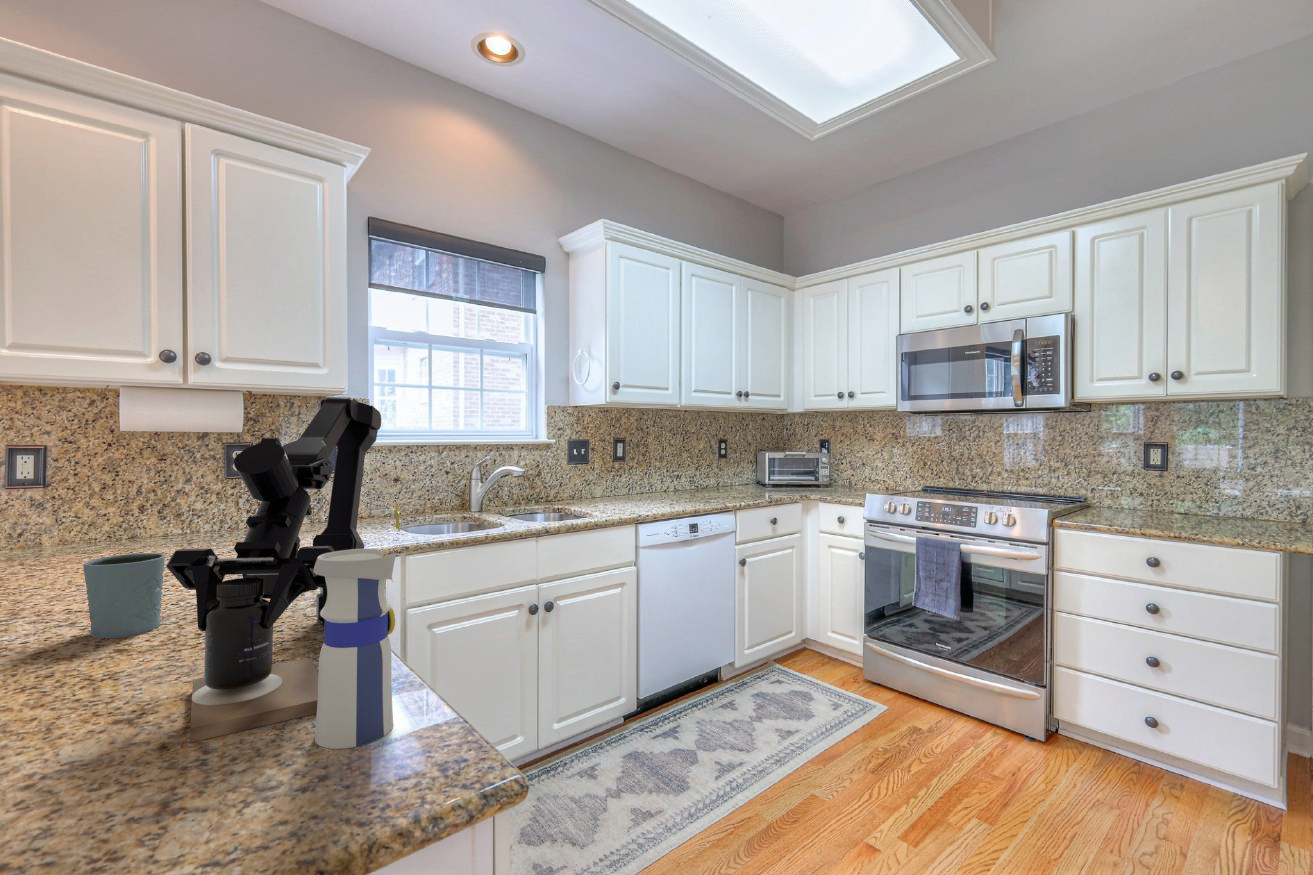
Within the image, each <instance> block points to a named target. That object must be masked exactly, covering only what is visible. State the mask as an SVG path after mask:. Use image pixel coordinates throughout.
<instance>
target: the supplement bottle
mask: <svg viewBox="0 0 1313 875" xmlns="http://www.w3.org/2000/svg"><path fill="white" fill-rule="evenodd" d="M264 594H265V590H264V579H262V578H243V577H240V578H239V577H238V578H233V579H225V580H223V581H222V582H220V583H218V584H217V594H216V600H218V604H216V605H215V606H213V607H212V608H211V609H210V610H209V611H208V612H207V614H206V620H205V631H204V666H203V668H204V670H203V671H204V672H203V674H204V676H203V678H204V682H205V685H206V686H207V687H209V688H211V689H216V690H228V689H236V688H242V687H246V686H250V685H253V684H256V683H259V682H261V681H263V680H265V679H266V678H267V677H268V676H269V675H270V674H271V671H272V665H273V651H274V650H273V648H274V646H273V642H274V640H273V638H274V624H273V625H272V626H271V627H270V628H269V629H265V627H264V626H263V623H264V618H265V613H266V610H267V607H268V604H269V601H270V600H268V599H264V598H262V596H263V595H264Z"/></svg>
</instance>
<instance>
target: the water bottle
mask: <svg viewBox="0 0 1313 875" xmlns="http://www.w3.org/2000/svg"><path fill="white" fill-rule="evenodd" d="M398 506H399V505H398V501H395V510H394V512H393V513H394V517H395V529H396V530H397V531H398V532H400V531H401V527H400V526H401V525H400V516H401V514H400V512H399V507H398ZM396 557H397V555H396V553H391V554H388V555H385V554H384V552H383V551H382V550H380V549H377V548H364V549H351V550H342V551H335V552H329V553H325V554H322V555H320V556H318V558H317V561H316V563H315V566H314V570H313V572H314V573H315V574H317V575H320V576H325V580H326V585H327V600H326V604H325V606H324V608H323V609H322V610H321V612H320V615H321V617H323V618H324V619H325V620H324V626H323V627H324V629H323V631H324V632H323V633H324V635H323V637H324V638H323V640H324V641H323V644H322V646H321V650H320V652H319V657H318V658H319V659H318V670H317V672H318V701H317V713H316V715H315V716H316V717H315V718H316V719H315V731H314V742H315V744H316V745H318V746H320V747H322V748H325V749H332V750H333V749H334V750H335V749H336V750H339V749H343V750H344V749H350V748H357V747H360V746H364V745H367V744H371V743H374V742H375V741H376V742H377V741H378V740H379V739H381V738H383V737H385V736H386V735H387V734H389V733H390V732H391V730H392V729H393V727H394V714H393V712H394V711H393V694H392V693H393V691H392V690H393V689H392V687H393V685H392V645H391V640H390V638H389V635H391V634H392V633H393V632H394V630H395V628H396V615H395V612H394V609H393V608H392V607H393V606H392V604H391V602H390V601H389V599H388V597H387V593H386V582H387V580H391V581H392V583H394V581H393V573H394V565H395V561H396Z"/></svg>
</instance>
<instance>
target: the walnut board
mask: <svg viewBox="0 0 1313 875" xmlns="http://www.w3.org/2000/svg"><path fill="white" fill-rule="evenodd" d="M191 687H192V688H191V690H192V691H191V706H190V707H191V708H190V723H189V724H190V725H189V743H190V744H191V743H195V742H200V741H205V740H208V739H213V738H216V737H220V736H225V735H229V734H234V733H237V732H238V733H239V732H242V731H248V730H251V729H255V728H259V727H263V726H269V725H272V724H277V723H280V722H285V721H289V720H293V719H298V718H301V717H306V716H310V715H314V714H317V701H318V670H317V668H316V666H315V663H314V662H313V659H312V658H311V657H307V658H304V659H303V658H302V659H297V660H292V661H287V662H280V663H274V664H272V671H271V674H270V675H269V676H268V677H267V678H266V679H265V680H263V681H261V682H259V683H256V684H253V685H250V686H246V687H242V688H236V689H228V690H216V689H211V688H209V687H207V686H206V685H205V682H204V677H200V678H199V677H198V678H195V679H194V678H193V679H192V686H191Z"/></svg>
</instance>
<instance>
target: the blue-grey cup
mask: <svg viewBox="0 0 1313 875" xmlns="http://www.w3.org/2000/svg"><path fill="white" fill-rule="evenodd" d="M165 560H166V554H164V553H159V552H142V553H141V552H140V553H128V554H120V555H114V556H113V555H112V556H111V555H110V556H105V557H100V558H96V559H91V560H87V561H85V562H84V563H83V565H82V567H83V573H84V574H83V575H84V581H85V587H86V595H87V597H86V599H87V601H88V604H87V607H88V613H89V622H90V633H91V637H92V638H94V639H102V638H103V640H104V638H106V639H119V638H124V637H125V638H126V637H131V636H137V635H141V634H144V633H145V634H146V633H149V632H151V631H154V630H156V629H158V628H159V627H160V624H161V611H162V609H161V608H162V594H163V584H164V575H163V574H164V570H165V562H166V561H165ZM153 629H154V630H153Z"/></svg>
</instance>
